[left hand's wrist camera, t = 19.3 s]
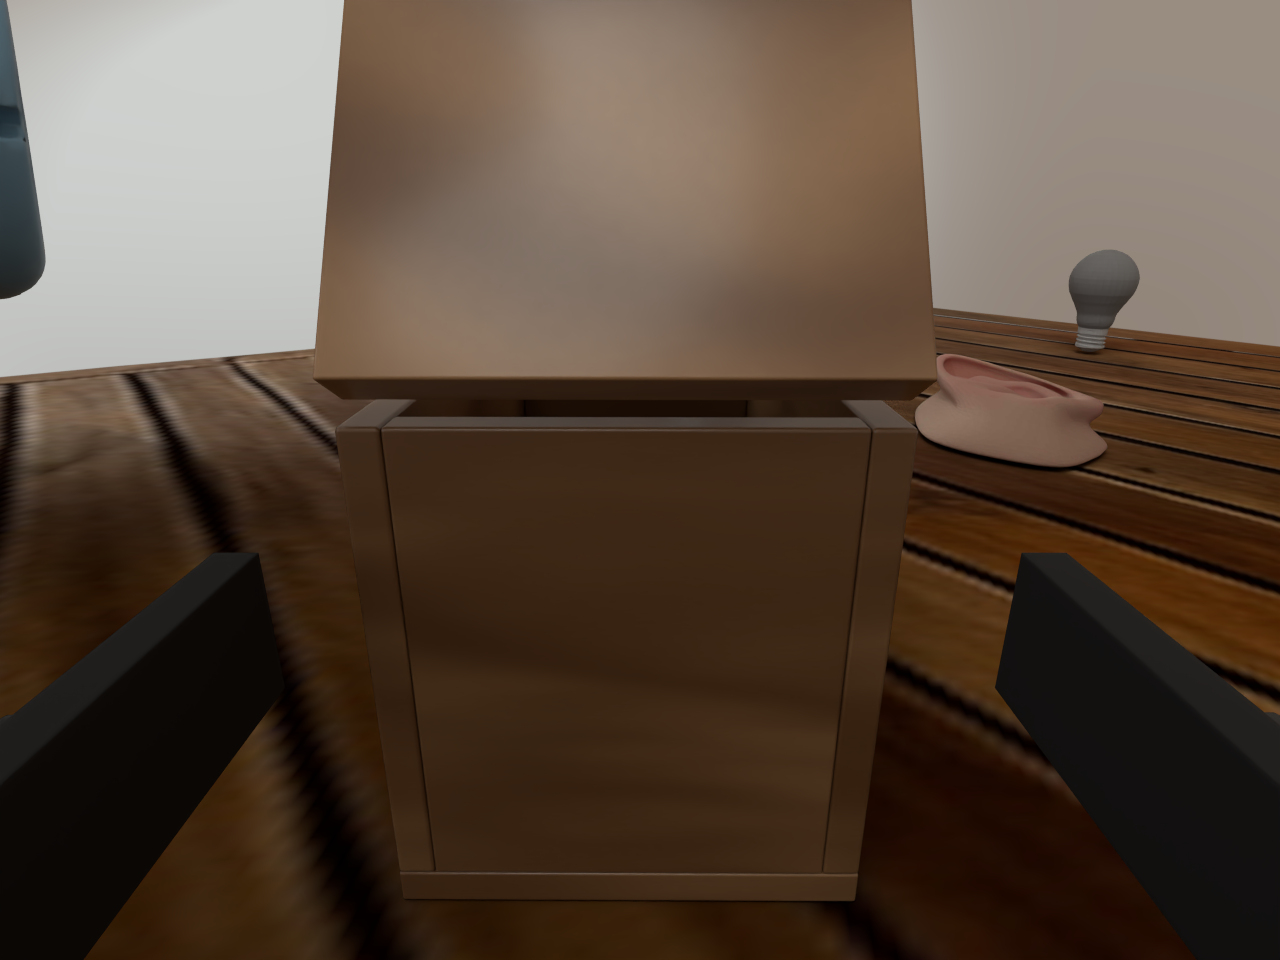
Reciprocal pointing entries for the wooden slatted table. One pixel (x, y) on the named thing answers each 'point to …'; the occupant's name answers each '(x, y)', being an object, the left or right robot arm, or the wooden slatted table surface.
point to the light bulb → (1101, 294)
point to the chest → (627, 639)
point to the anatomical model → (1009, 415)
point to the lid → (626, 202)
